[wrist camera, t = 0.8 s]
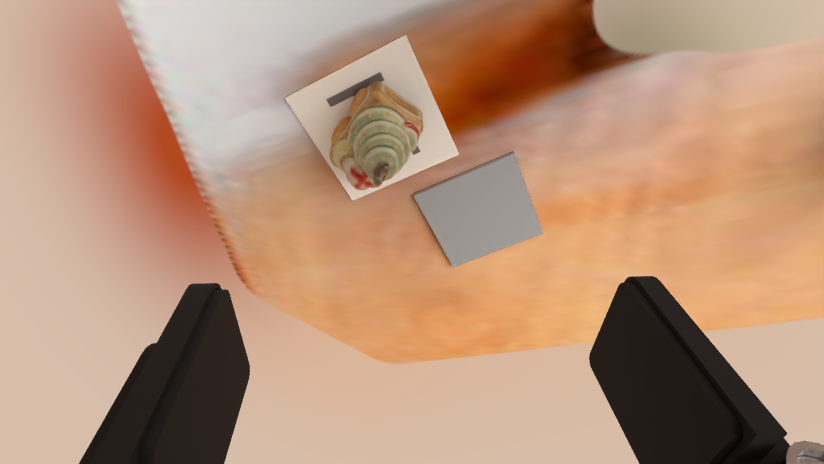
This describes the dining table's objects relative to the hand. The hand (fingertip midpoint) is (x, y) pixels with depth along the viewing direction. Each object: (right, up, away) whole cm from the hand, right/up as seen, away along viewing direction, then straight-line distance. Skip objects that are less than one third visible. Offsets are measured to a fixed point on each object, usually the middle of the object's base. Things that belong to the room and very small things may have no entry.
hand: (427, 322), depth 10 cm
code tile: (-3, +11, +26) cm, 28 cm away
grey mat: (+6, +4, +32) cm, 32 cm away
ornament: (-3, +11, +26) cm, 28 cm away
